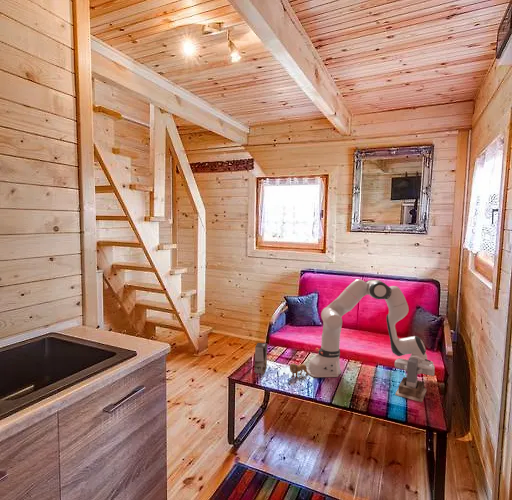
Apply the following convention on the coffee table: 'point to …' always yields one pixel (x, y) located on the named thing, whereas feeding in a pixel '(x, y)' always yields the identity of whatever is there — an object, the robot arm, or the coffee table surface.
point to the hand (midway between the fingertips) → (412, 371)
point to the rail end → (412, 373)
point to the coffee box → (260, 358)
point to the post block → (411, 390)
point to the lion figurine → (298, 369)
